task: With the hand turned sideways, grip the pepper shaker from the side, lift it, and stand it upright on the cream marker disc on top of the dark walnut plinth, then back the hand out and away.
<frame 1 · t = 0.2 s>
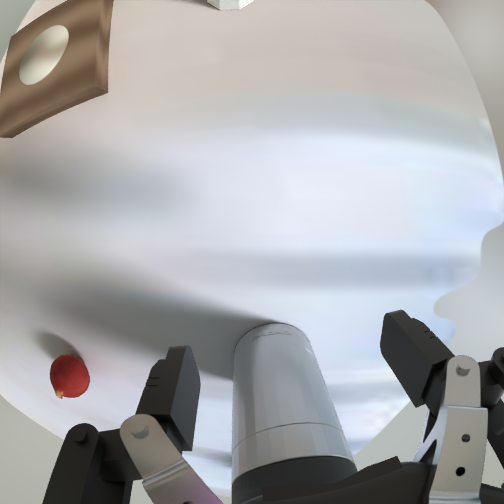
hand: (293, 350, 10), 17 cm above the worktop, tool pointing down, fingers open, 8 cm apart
onion: (81, 359, 31), on the worktop
walnut plinth: (55, 60, 20), on the worktop
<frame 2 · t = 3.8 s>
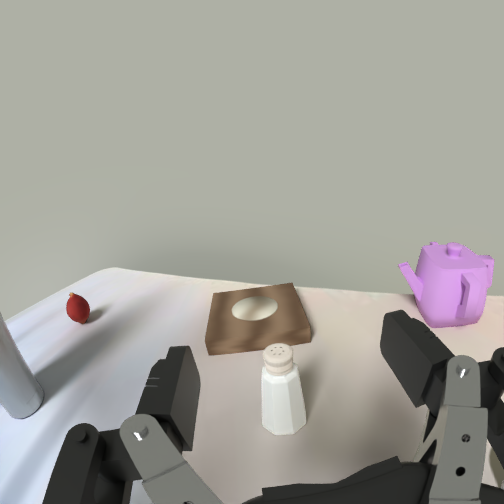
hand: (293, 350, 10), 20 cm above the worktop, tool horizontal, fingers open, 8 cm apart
onion: (84, 323, 53), on the worktop
walnut plinth: (256, 322, 48), on the worktop
teakettle: (442, 306, 41), on the worktop
pepper shaker: (284, 419, 27), on the worktop
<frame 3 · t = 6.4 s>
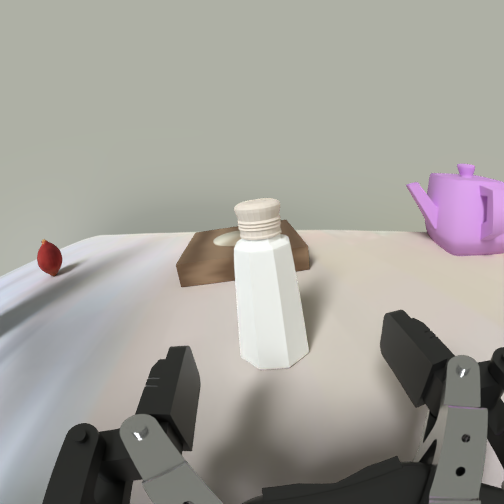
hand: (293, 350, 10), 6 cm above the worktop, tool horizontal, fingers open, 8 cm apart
onion: (55, 276, 46), on the worktop
walnut plinth: (243, 257, 41), on the worktop
teakettle: (460, 241, 34), on the worktop
pepper shaker: (275, 350, 20), on the worktop
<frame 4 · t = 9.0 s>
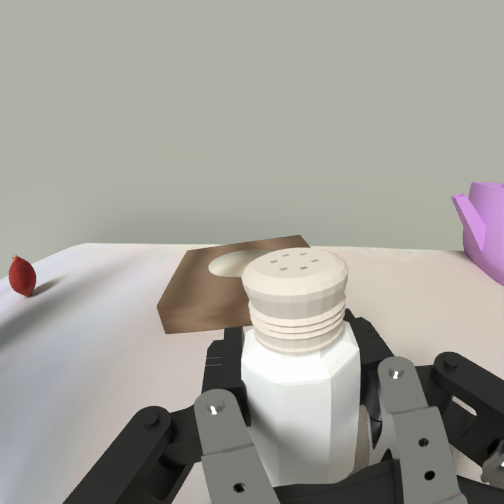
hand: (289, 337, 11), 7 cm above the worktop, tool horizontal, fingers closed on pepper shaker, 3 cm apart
onion: (29, 297, 36), on the worktop
walnut plinth: (247, 287, 31), on the worktop
teakettle: (502, 264, 25), on the worktop
pepper shaker: (301, 463, 11), on the worktop, touching gripper
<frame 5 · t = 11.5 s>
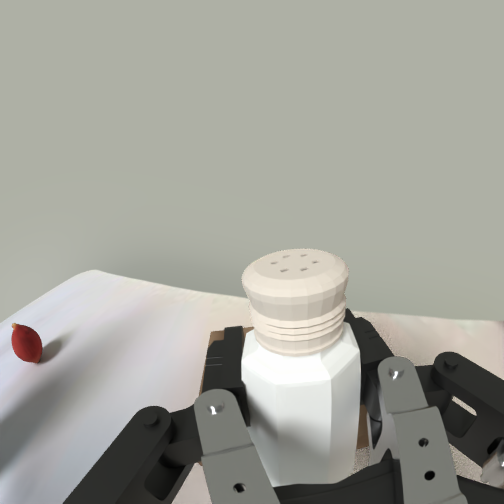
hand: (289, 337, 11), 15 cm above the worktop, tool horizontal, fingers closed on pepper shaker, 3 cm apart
onion: (38, 362, 32), on the worktop
walnut plinth: (287, 392, 24), on the worktop
pepper shaker: (302, 463, 11), point 8 cm above the worktop, touching gripper
when the fingers open (11 cm above the worktop, at t = 14.5 s): pepper shaker stays where it is, resting on walnut plinth.
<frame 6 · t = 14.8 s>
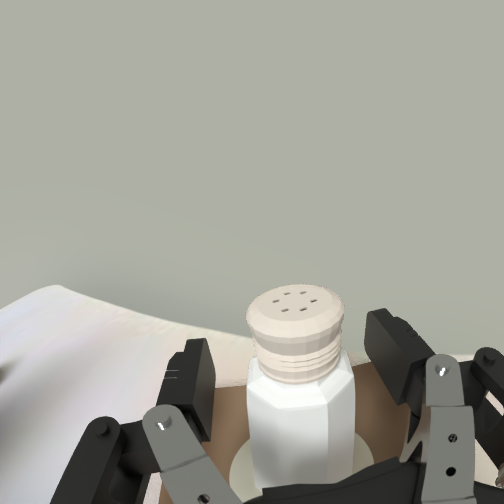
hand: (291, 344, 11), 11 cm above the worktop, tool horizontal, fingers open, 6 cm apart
walnut plinth: (301, 487, 12), on the worktop
pepper shaker: (303, 472, 11), point 3 cm above the worktop, touching walnut plinth
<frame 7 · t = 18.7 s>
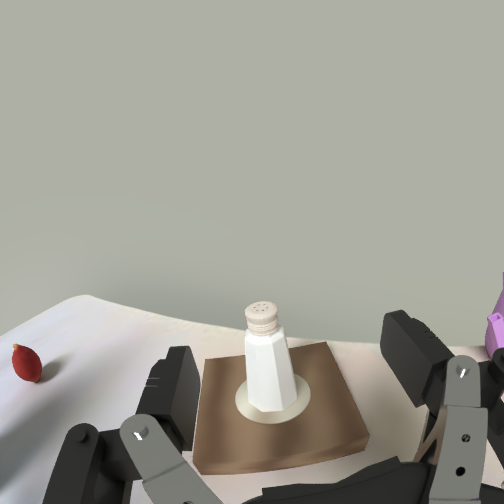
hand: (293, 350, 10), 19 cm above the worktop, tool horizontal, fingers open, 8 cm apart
onion: (37, 382, 31), on the worktop
walnut plinth: (275, 412, 27), on the worktop
pepper shaker: (273, 396, 26), point 3 cm above the worktop, touching walnut plinth
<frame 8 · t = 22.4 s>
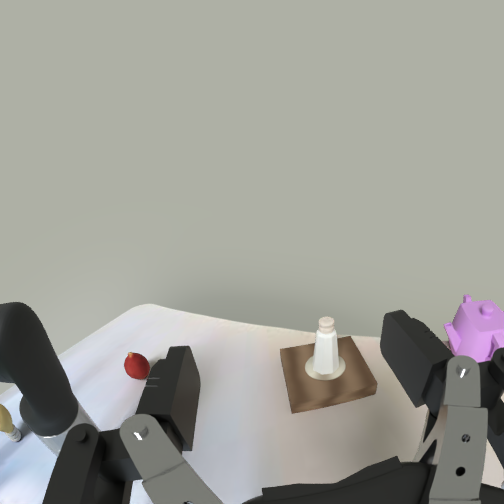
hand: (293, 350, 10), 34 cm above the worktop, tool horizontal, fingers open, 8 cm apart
onion: (142, 378, 54), on the worktop
light bulb: (17, 438, 30), on the worktop
walnut plinth: (324, 376, 49), on the worktop
teakettle: (470, 352, 43), on the worktop
pepper shaker: (325, 366, 48), point 3 cm above the worktop, touching walnut plinth
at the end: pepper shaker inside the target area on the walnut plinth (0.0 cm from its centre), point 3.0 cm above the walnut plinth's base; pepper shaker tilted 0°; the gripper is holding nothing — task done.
